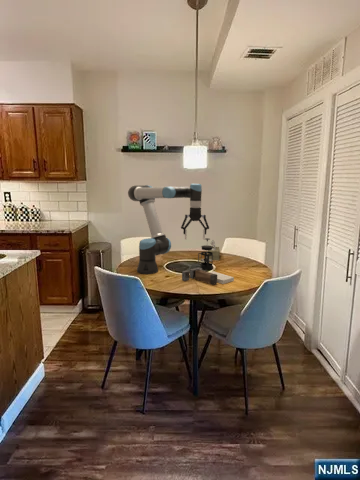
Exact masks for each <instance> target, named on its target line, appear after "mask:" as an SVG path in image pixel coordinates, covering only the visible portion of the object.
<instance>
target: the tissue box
mask: <svg viewBox="0 0 360 480" xmlns="http://www.w3.org/2000/svg"><path fill="white" fill-rule="evenodd" d="M210 244H211V245H210V246H213V248H212V250H207V252H212V253H213V261H220V254H221V253H220V246H216V243H215V241H214V239H212V241H211V242H210ZM207 254H209V253H207ZM209 259H211V260H212V256H209Z"/></svg>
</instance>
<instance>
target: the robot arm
mask: <svg viewBox="0 0 360 480" xmlns="http://www.w3.org/2000/svg"><path fill="white" fill-rule="evenodd" d="M202 189H203V188H202V184H200V183H190V186H181V185H180V186H172V185H171V186H170V185H169V186H154V187H153V186H152V185H148V184H146V185H132V186H130V188H129V189H128V192H127V195H128V198H129V199H130V200H131V201H134V202H139V205H140V206H142V208H143V211H144V214H145V218H146V221H147V224H148V228H149V231H150V235H151V237H150V238H143V239H141V240H140V241H139V246H138V251H139V252H138V253H139V254H138V256H139V258H138V259H139V261H138V264H137V268H136V272H137V274H143V275H151V274H153V275H154V274H156V273H158V272H159V268H158V264H157V262H156V256H160V255H164V254H167V253H169V252H170V250H171V248H172V241H171V240H170V239H169V238H168V237H167V236H166V234H164V233H163V230H162V226H161V223H160V220H159V216H158V212H157V209H156V207H155V202H156V200H155V199H181V198H182V199H183V198H184V199H187V198H189V214H184V220H183V222H182V223H181V226H180V228H181V229H182V230H183V235H184V240H187V237H188V236H187V233H188V231H187V229H188V228H187V227H189V225H190V224H191V223H192V221H193V222H198V221H199V224H200V225H201V226H202V228H203V229H202V233H203V234H202V239H203V240H206V239H205V238H206V235H207V230H209V229H210V226H209V223H208V221H207V217H206V215H205V214H202V208H201V207H202V194H203V193H202V191H203V190H202ZM188 218H189V220H188ZM201 218H202V219H203V222H204V223H203V222H202V220H201ZM187 220H188V221H187ZM186 222H187V223H186Z"/></svg>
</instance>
